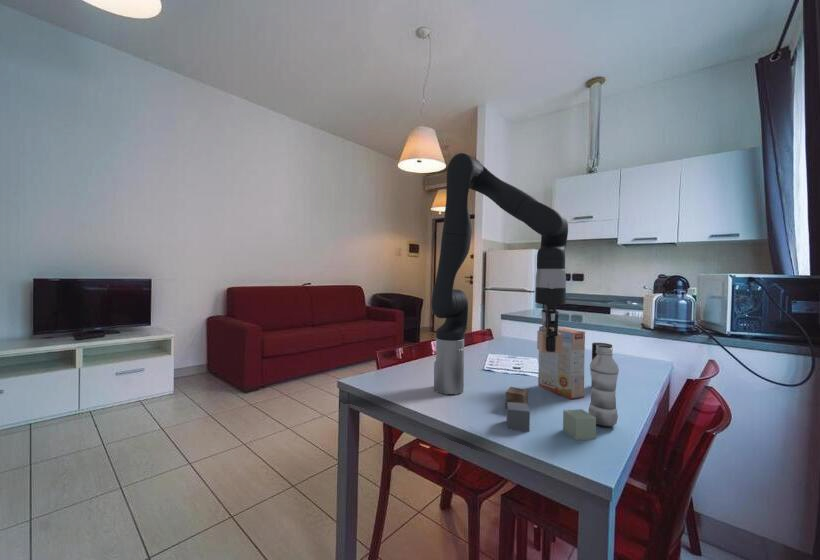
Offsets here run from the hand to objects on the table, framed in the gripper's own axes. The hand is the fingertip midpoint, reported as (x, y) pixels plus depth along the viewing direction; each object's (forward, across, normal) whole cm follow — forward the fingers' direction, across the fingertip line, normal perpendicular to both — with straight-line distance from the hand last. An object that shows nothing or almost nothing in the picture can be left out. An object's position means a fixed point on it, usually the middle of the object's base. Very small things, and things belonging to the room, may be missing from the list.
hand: (549, 348), depth 88 cm
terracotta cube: (+1, 0, 0) cm, 1 cm away
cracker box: (+19, -23, +6) cm, 30 cm away
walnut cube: (+19, -4, -8) cm, 21 cm away
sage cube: (+19, +8, +6) cm, 21 cm away
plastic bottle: (+19, 0, +13) cm, 23 cm away
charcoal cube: (+19, +8, -8) cm, 22 cm away
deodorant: (+19, -31, +20) cm, 41 cm away
